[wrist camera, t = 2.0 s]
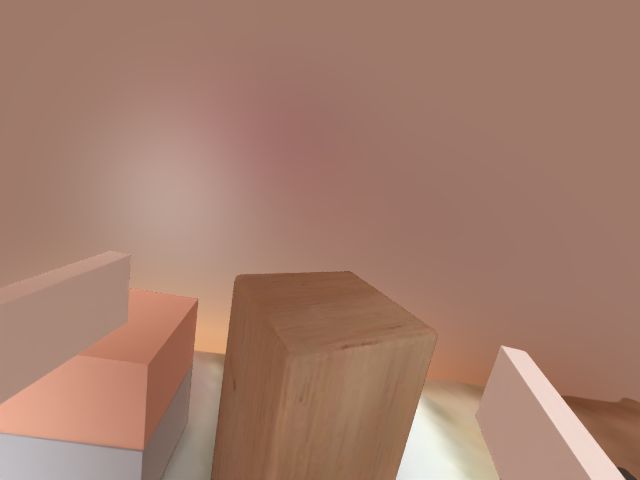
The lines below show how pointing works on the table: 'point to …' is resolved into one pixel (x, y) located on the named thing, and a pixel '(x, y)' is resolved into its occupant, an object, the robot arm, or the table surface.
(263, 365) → the wooden block
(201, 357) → the table surface
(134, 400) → the tower top
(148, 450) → the tower base
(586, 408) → the table surface
